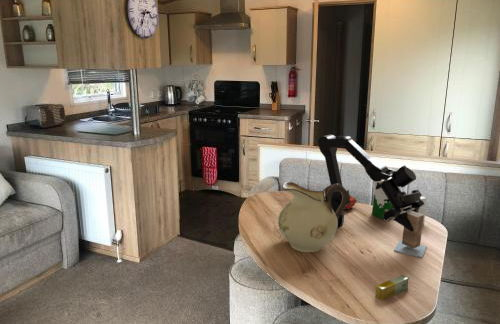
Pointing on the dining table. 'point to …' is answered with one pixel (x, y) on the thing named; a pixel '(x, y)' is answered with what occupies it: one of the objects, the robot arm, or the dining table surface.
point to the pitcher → (310, 216)
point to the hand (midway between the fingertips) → (416, 229)
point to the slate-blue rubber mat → (410, 249)
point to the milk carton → (380, 202)
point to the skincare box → (422, 207)
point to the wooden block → (413, 237)
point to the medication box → (391, 287)
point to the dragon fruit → (351, 203)
